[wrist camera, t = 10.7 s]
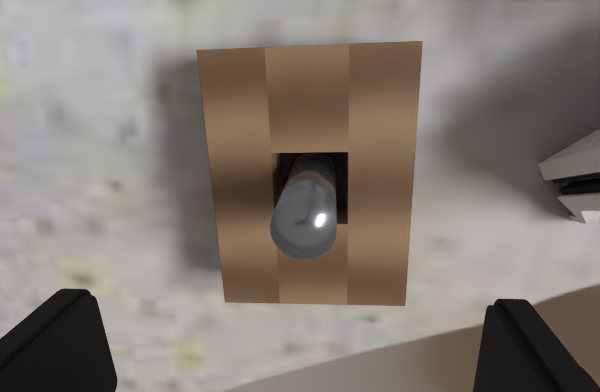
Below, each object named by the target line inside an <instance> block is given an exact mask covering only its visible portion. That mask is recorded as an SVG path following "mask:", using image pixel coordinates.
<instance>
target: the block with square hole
mask: <svg viewBox="0 0 600 392" xmlns="http://www.w3.org/2000/svg"><path fill="white" fill-rule="evenodd" d="M421 56H422V41H412V42H388V43H363V44H338V45H314V46H289V47H264V48H240V49H215V50H197V57H198V66H199V75H200V84H201V93H202V102H203V111H204V119H205V128H206V137H207V146H208V155H209V164H210V173H211V182H212V191H213V200H214V209H215V217H216V226H217V235H218V244H219V253H220V262H221V271H222V280H223V289H224V298H225V302H238V303H287V304H336V305H385V306H405V300H406V284H407V269H408V254H409V239H410V224H411V208H412V193H413V178H414V163H415V148H416V132H417V117H418V102H419V87H420V72H421ZM309 152H346V202H336V214H337V234H336V238H335V241H334V243H333V245H332V246H331V248H330V249H329V250H328V251H327V252H325V253H324V254H323V255H321V256H319V257H316V258H313V259H296V258H293V257H290V256H288V255H286V254H285V253H283V252H282V251H281V250H280V249H279V248H278V247H277V246H276V245H275V243H274V241H273V239H272V237H271V233H270V222H271V219H272V216H273V213H274V211H275V209H276V206H277V204H278V201H279V199H280V196H281V194H282V172H281V153H309Z"/></svg>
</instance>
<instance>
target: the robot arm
mask: <svg viewBox="0 0 600 392" xmlns="http://www.w3.org/2000/svg"><path fill="white" fill-rule="evenodd" d="M116 387H117V375H116V372H115V368H114V364H113V360H112V356H111V352H110V349H109V345H108V341H107V337H106V333H105V329H104V326H103V322H102V318H101V314H100V310H99V307H98V303H97V300H96V298H95V297H94V296H92V295H91V293H90V292H89V291H88V290H86V289H61V290H59V291H57V292H56V293H55V294H54V295H52V296H51V297H50V298H49V299H48V300H47V301H45V302H44V303H43V304H42V305H41V306H39V307H38V308H37V309H36V310H35V311H33V312H32V313H31V314H30V315H29V316H27V317H26V318H25V319H24V320H23V321H21V322H20V323H19V324H18V325H17V326H15V327H14V328H13V329H12V330H11V331H9V332H8V333H7V334H6V335H5V336H3V337H2V338H1V339H0V392H115V390H116ZM473 392H600V387H599V386H598V385H597V384H596V382H595V381H594V380H593V379H592V377H591V376H590V375H589V374H588V373H587V372H586V371H585V370H584V369H583V368H582V367H580V366H579V365H578V363H577V362H576V361H575V360H574V358H573V357H572V356H571V355H570V353H569V352H568V351H567V349H566V348H565V347H564V346H563V344H562V343H561V342H560V341H559V339H558V338H557V337H556V336H555V334H554V333H553V332H552V331H551V329H550V328H549V327H548V326H547V324H546V323H545V322H544V321H543V319H542V318H541V317H540V315H539V314H538V313H537V312H536V310H535V309H534V308H533V307H532V305H531V304H530V303H529V302H528V301H527V300H524V299H497V300H496V301H495V303H494V305H489V306H488V307H487V309H486V314H485V320H484V326H483V333H482V339H481V345H480V351H479V357H478V363H477V370H476V376H475V382H474V388H473Z"/></svg>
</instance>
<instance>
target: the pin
mask: <svg viewBox="0 0 600 392" xmlns="http://www.w3.org/2000/svg"><path fill="white" fill-rule="evenodd" d="M270 233H271V237H272V239H273V241H274V243H275V245H276V246H277V247H278V248H279V249H280V250H281V251H282V252H283V253H285V254H286V255H288V256H290V257H293V258H296V259H313V258H316V257H319V256H321V255H323V254H324V253H325V252H327V251H328V250H329V249H330V248H331V246H332V245H333V243H334V241H335V238H336V234H337V214H336V180H335V167H334V164H333V162H332V160H331V159H330V158H329V157H328V156H327V155H325V154H324V153H321V152H309V153H304V154H302V155H300V156H299V157H298V158H297V160H296V161H295V163H294V165H293V167H292V170H291V172H290V175H289V177H288V180H287V182H286V184H285V187H284V189H283V192H282V194H281V196H280V199H279V201H278V204H277V206H276V209H275V211H274V213H273V216H272V219H271V222H270Z"/></svg>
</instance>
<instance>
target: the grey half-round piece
mask: <svg viewBox="0 0 600 392" xmlns="http://www.w3.org/2000/svg"><path fill="white" fill-rule="evenodd" d="M538 165H539V169H540V171H541V174H542V176H543V179H544V181H546V180H552V181H553V182H554V184H555V183H563V182H570V181H573V182H572V183H570V184H568V185H566V186H564V187H562V188H561V189H559V191H560V192H561V194H562V195H560V196H558V197H556V198H557V199H559V200H560V201H561V202H562V203H563V204H564V205H565V206H566V207H567V208H568V209H569V210H570V211H571V212H572V213H573V214H571V215H569V217H570V218H571V219H572V220H573V221H576V222H580V223H587V222H588V221H590V220H592V219H594V218H596V217H598V216H600V129H598V130H596V131H594V132H593V133H591V134H589V135H587V136H586V137H584V138H582V139H580V140H579V141H577V142H575V143H574V144H572V145H570V146H568V147H567V148H565V149H563V150H561V151H560V152H558V153H556V154H554V155H553V156H551V157H549V158H547V159H546V160H544V161H542V162H540V163H539V164H538Z"/></svg>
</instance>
